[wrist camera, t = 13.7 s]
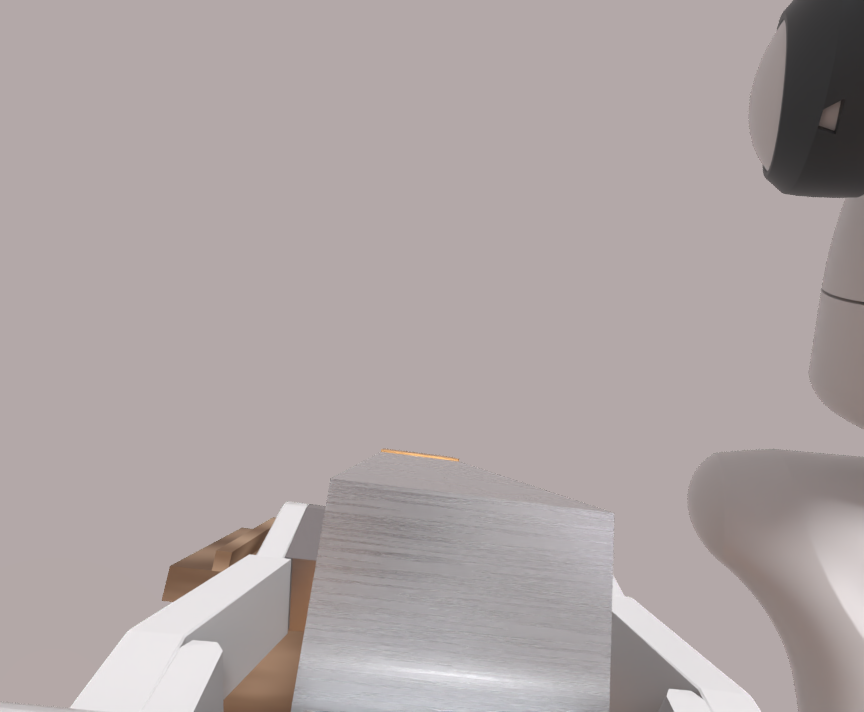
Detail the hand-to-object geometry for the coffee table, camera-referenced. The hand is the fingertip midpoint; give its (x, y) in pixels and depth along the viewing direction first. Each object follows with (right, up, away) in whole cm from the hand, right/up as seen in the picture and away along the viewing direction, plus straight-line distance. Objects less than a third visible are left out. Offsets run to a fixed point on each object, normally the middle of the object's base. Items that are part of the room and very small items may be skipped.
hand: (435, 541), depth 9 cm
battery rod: (-1, -4, +5) cm, 6 cm away
